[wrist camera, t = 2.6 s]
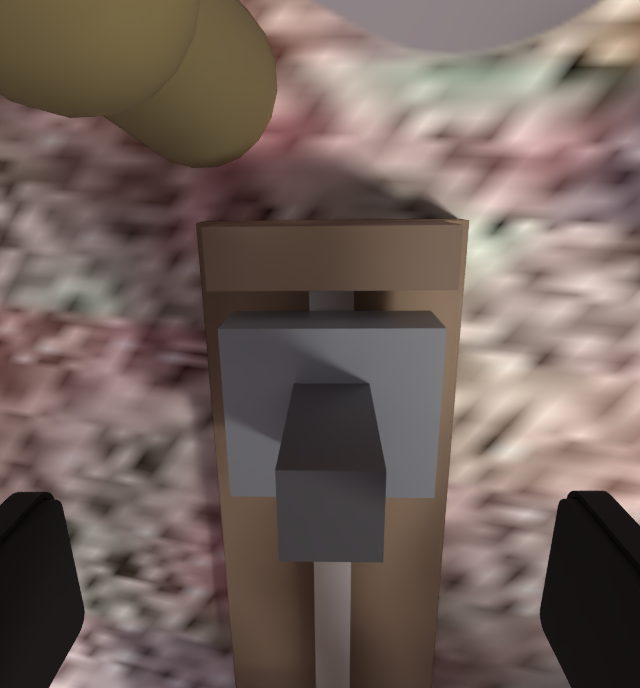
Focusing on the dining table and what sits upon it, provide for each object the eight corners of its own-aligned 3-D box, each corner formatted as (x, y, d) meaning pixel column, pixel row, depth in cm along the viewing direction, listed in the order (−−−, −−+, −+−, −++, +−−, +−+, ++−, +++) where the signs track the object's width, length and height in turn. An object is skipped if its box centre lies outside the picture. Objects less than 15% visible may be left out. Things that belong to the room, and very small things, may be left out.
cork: (112, -25, 16) (-284, -427, 6) (284, -6, 16) (196, -371, 6) (116, 159, 18) (-181, 104, 8) (271, 176, 18) (186, 146, 8)
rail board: (458, 218, 18) (496, 224, 14) (424, 674, 26) (443, 770, 21) (206, 221, 19) (168, 227, 14) (242, 670, 26) (224, 764, 22)
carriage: (425, 304, 17) (503, 393, 9) (417, 447, 19) (477, 625, 11) (238, 305, 18) (160, 393, 10) (247, 446, 19) (187, 620, 11)
